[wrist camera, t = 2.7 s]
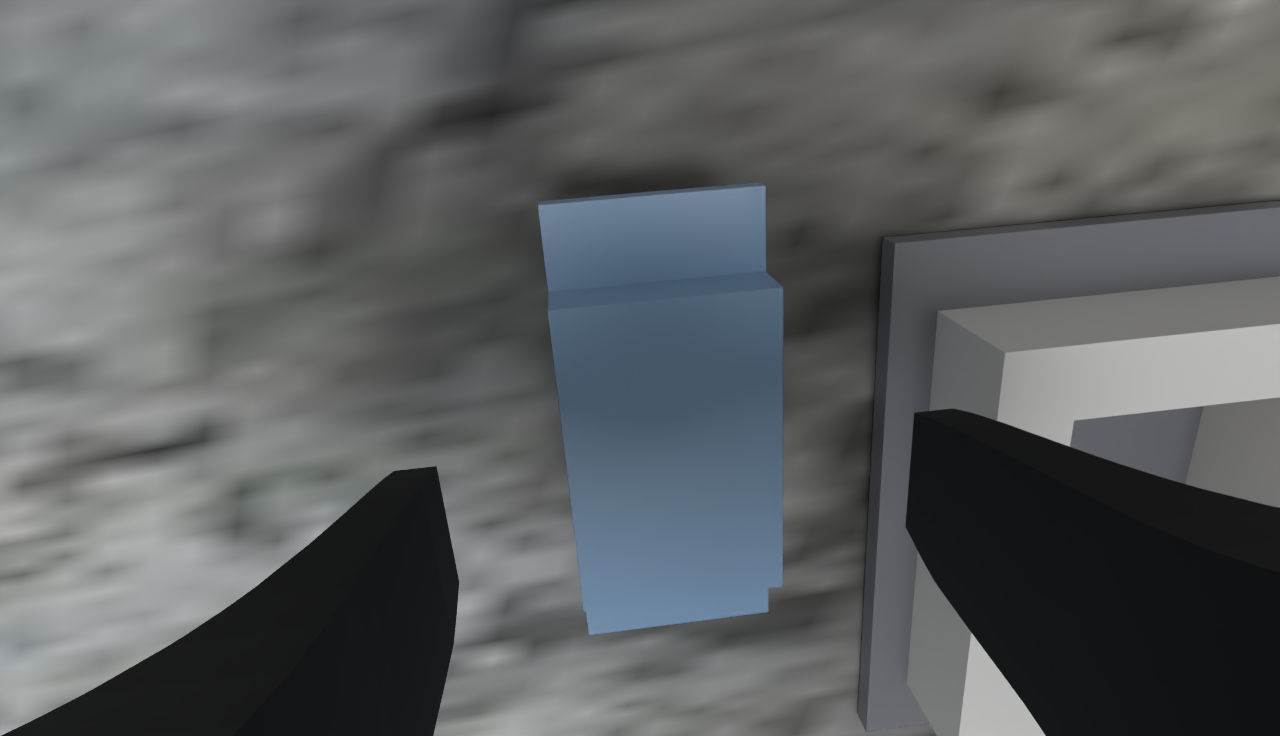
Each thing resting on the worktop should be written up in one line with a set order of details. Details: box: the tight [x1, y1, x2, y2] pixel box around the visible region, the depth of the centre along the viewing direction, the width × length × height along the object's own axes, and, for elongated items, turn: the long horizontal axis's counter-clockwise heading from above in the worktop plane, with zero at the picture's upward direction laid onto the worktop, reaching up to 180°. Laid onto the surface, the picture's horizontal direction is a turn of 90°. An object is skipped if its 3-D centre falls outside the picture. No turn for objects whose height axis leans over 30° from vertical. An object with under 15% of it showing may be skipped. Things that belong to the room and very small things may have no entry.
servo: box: [538, 182, 783, 635], centre depth 14 cm, size 4×8×4 cm, turn 4°
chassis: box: [858, 200, 1280, 736], centre depth 17 cm, size 10×13×3 cm
